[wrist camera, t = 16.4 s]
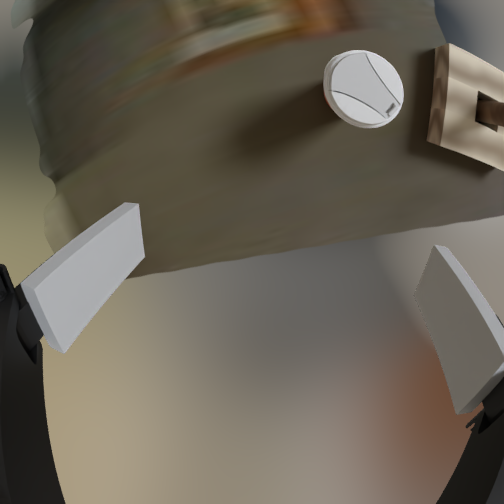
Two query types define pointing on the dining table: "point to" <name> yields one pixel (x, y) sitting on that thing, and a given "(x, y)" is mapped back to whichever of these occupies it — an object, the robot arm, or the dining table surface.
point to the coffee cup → (363, 88)
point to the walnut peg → (490, 112)
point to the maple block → (465, 105)
